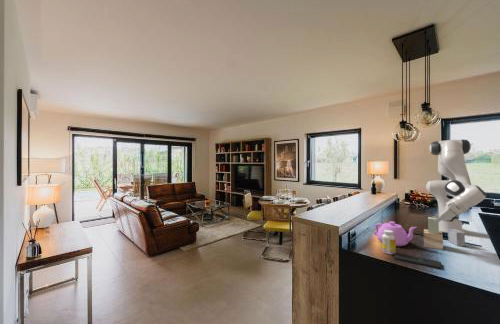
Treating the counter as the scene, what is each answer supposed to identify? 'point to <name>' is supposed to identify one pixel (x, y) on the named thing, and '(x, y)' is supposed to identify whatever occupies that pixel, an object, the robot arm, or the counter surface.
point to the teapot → (395, 233)
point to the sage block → (433, 226)
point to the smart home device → (418, 260)
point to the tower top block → (433, 236)
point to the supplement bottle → (388, 242)
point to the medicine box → (456, 237)
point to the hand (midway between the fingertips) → (434, 220)
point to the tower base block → (433, 244)
